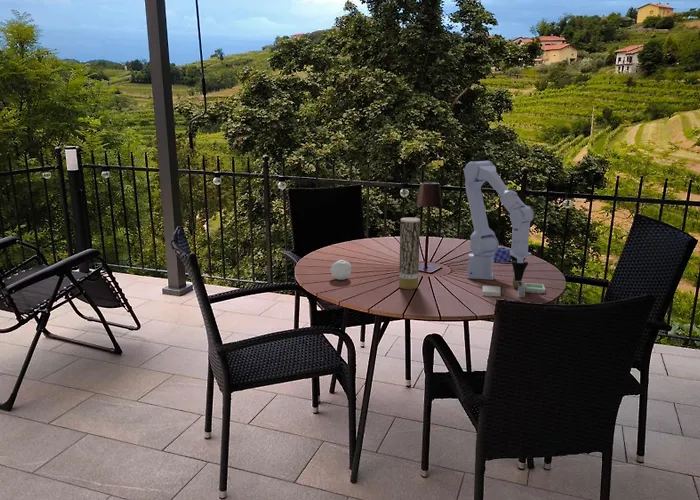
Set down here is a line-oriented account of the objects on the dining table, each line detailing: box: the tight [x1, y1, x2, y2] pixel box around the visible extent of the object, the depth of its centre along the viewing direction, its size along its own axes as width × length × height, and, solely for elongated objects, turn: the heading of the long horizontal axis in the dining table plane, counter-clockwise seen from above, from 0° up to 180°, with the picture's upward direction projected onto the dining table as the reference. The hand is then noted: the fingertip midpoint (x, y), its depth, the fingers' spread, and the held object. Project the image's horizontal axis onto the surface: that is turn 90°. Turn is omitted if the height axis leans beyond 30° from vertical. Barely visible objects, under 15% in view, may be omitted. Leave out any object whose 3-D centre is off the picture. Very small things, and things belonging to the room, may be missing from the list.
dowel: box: [512, 273, 522, 289], centre depth 198 cm, size 3×3×7 cm
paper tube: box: [398, 217, 421, 291], centre depth 196 cm, size 7×7×25 cm
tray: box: [525, 282, 546, 294], centre depth 196 cm, size 6×6×2 cm
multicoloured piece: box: [493, 246, 512, 264], centre depth 236 cm, size 12×12×5 cm
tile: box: [481, 285, 502, 297], centre depth 192 cm, size 6×7×2 cm
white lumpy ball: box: [330, 259, 352, 281], centre depth 208 cm, size 8×8×8 cm
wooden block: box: [517, 281, 526, 298], centre depth 190 cm, size 2×5×4 cm, turn 167°
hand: (517, 277), depth 198 cm, fingers open, 7 cm apart
